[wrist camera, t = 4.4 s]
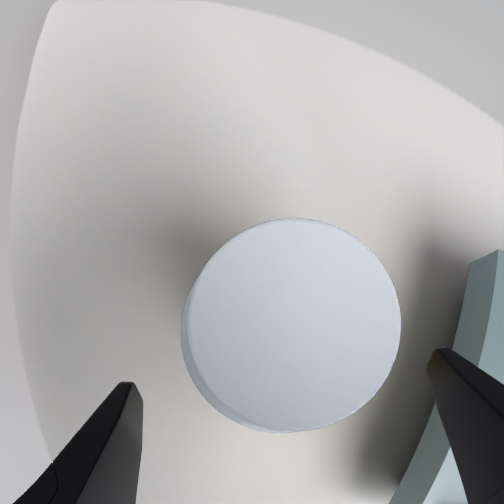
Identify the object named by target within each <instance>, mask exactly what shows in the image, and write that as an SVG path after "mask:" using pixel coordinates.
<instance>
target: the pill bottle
mask: <svg viewBox="0 0 504 504" xmlns="http://www.w3.org/2000/svg"><path fill="white" fill-rule="evenodd" d="M400 334H401V314H400V307H399V303H398V298H397V294H396V291H395V288H394V285H393V283H392V281H391V279H390V277H389V275H388V273H387V271H386V269H385V268H384V266H383V265H382V263H381V262H380V261H379V259H378V258H377V257H376V256H375V254H374V253H373V252H372V251H371V250H370V249H369V248H368V247H367V246H366V245H364V244H363V243H362V242H361V241H360V240H358V239H357V238H355V237H354V236H352V235H351V234H349V233H348V232H346V231H344V230H342V229H340V228H338V227H335V226H333V225H330V224H327V223H324V222H320V221H315V220H310V219H300V218H297V219H279V220H273V221H269V222H264V223H261V224H259V225H256V226H253V227H251V228H249V229H247V230H245V231H243V232H241V233H239V234H238V235H236V236H234V237H233V238H232V239H230V240H229V241H228V242H226V243H225V244H224V245H223V246H222V247H221V248H220V249H219V250H218V251H217V252H215V253H214V255H213V256H212V257H211V258H210V260H209V261H208V262H207V264H206V265H205V267H204V268H203V270H202V271H201V273H200V275H199V276H198V278H197V280H196V281H195V283H194V284H193V286H192V288H191V290H190V293H189V295H188V297H187V300H186V303H185V306H184V310H183V315H182V321H181V345H182V352H183V356H184V360H185V363H186V366H187V369H188V372H189V374H190V376H191V378H192V380H193V382H194V384H195V385H196V387H197V388H198V390H199V391H200V393H201V394H202V395H203V396H204V398H205V399H206V400H207V401H208V402H209V403H210V404H211V405H212V406H213V407H214V408H215V409H217V410H218V411H219V412H220V413H221V414H223V415H224V416H226V417H227V418H229V419H231V420H232V421H234V422H236V423H238V424H240V425H243V426H245V427H248V428H251V429H255V430H258V431H264V432H270V433H291V432H299V431H308V430H313V429H319V428H322V427H325V426H329V425H332V424H334V423H337V422H339V421H341V420H343V419H345V418H347V417H349V416H350V415H352V414H353V413H355V412H356V411H357V410H359V409H360V408H361V407H362V406H363V405H365V404H366V403H367V402H368V401H369V400H370V399H371V398H372V397H373V396H374V395H375V394H376V393H377V391H378V390H379V389H380V387H381V386H382V384H383V383H384V381H385V380H386V378H387V376H388V375H389V373H390V371H391V368H392V366H393V363H394V361H395V358H396V355H397V351H398V347H399V341H400Z"/></svg>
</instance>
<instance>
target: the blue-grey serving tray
mask: <svg viewBox="0 0 504 504" xmlns="http://www.w3.org/2000/svg"><path fill="white" fill-rule="evenodd" d="M452 350H454V351H455V352H457V353H458V354H460V355H461V356H463V357H464V358H465V359H467V360H468V361H470V362H471V363H473V364H474V365H476V366H477V367H479V368H480V369H482V370H483V371H485V372H486V373H488V374H489V375H491V376H492V377H493V378H495V379H496V380H498V381H499V382H501V383H502V384H504V252H502V251H500V250H496V251H495V252H493V253H491V254H489V255H487V256H485V257H483V258H481V259H479V260H477V261H474V262H472V263H470V265H469V271H468V278H467V283H466V289H465V295H464V300H463V305H462V310H461V314H460V319H459V323H458V327H457V331H456V336H455V339H454V343H453V347H452ZM389 504H468V502H467V498H466V495H465V491H464V488H463V484H462V481H461V478H460V474H459V471H458V468H457V465H456V462H455V459H454V456H453V453H452V450H451V447H450V444H449V441H448V438H447V435H446V432H445V430H444V427H443V424H442V421H441V419H440V416H439V413H438V410H437V406H436V403H435V404H434V407H433V410H432V412H431V415H430V418H429V420H428V423H427V425H426V428H425V430H424V433H423V435H422V437H421V440H420V442H419V444H418V447H417V449H416V451H415V453H414V456H413V458H412V460H411V462H410V464H409V466H408V468H407V470H406V472H405V474H404V476H403V478H402V480H401V482H400V484H399V486H398V488H397V490H396V492H395V494H394V495H393V497H392V499H391V501H390V503H389Z"/></svg>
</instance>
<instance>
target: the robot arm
mask: <svg viewBox="0 0 504 504" xmlns="http://www.w3.org/2000/svg"><path fill="white" fill-rule="evenodd" d="M427 374H428V377H429V381H430V384H431V388H432V391H433V395H434V399H435V403H436V406H437V410H438V413H439V416H440V419H441V421H442V424H443V427H444V430H445V432H446V435H447V438H448V441H449V444H450V447H451V450H452V453H453V456H454V459H455V462H456V465H457V468H458V471H459V474H460V478H461V481H462V484H463V488H464V491H465V495H466V498H467V502H468V504H504V384H502V383H501V382H499V381H498V380H496V379H495V378H493V377H492V376H491V375H489V374H488V373H486V372H485V371H483V370H482V369H480V368H479V367H477V366H476V365H474V364H473V363H471V362H470V361H468V360H467V359H465V358H464V357H463V356H461V355H460V354H458V353H457V352H455V351H454V350H452V349H451V348H449V347H447V346H442V347H438V348H435V349H434V351H433V353H432V355H431V358H430V360H429V362H428V365H427ZM142 427H143V400H142V397H141V395H140V393H139V391H138V389H137V387H136V385H135V384H134V383H133V382H120V383H119V384H118V385H117V386H116V387H115V388H114V389H113V391H112V392H111V393H110V394H109V395H108V397H107V398H106V399H105V400H104V401H103V402H102V404H101V405H100V406H99V407H98V408H97V410H96V411H95V412H94V413H93V414H92V415H91V417H90V418H89V419H88V420H87V421H86V423H85V424H84V425H83V426H82V427H81V428H80V430H79V431H78V432H77V433H76V434H75V436H74V437H73V438H72V439H71V440H70V442H69V443H68V444H67V445H66V446H65V448H64V449H63V450H62V451H61V452H60V454H59V455H58V456H57V457H56V458H55V460H54V461H53V463H51V464H50V465H49V467H48V468H47V469H46V471H45V472H44V473H43V474H42V475H41V476H40V477H39V478H38V480H37V481H36V482H35V483H34V484H33V485H32V486H31V487H30V488H29V489H28V490H27V491H26V492H25V493H24V494H23V495H22V496H21V497H20V498H18V499H17V500H16V501H15V502H14V503H13V504H135V502H136V493H137V484H138V476H139V468H140V461H141V453H142Z"/></svg>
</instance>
